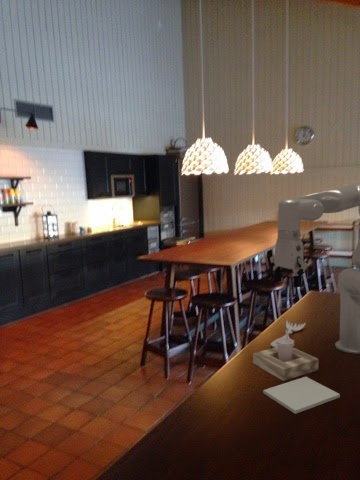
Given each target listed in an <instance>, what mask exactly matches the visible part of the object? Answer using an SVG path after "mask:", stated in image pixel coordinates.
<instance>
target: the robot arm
mask: <svg viewBox="0 0 360 480" xmlns="http://www.w3.org/2000/svg"><path fill="white" fill-rule="evenodd" d="M356 207H357V208H358V215H359V216H360V182H357V183H353V184H352V183H351V184H349V185H345V186H340V187H338V188H335V189H329V190H325V191H319V192H316V193H310V194H305V195H301V196H297V197H293V198H291V199H282V200H279V202H278V206H277V208H278V209H277V210H278V211H277V215H278V216H277V238H276V242H275V247H274V255H272V256H271V257H270V258H269V260H270V265H271V267H272V271H273V282H274V283H280V282H282V281H283V280H282V278H283V275H282V274H283V270H282V269H286V270H287V269H288V270H292V272H293V274H294V275H293V279H292V282H293V283H292V286H293V288H301V287H302V279H303V278H302V276H303V275H304V274H305V272H306V271H307V269H308V265H309V264H308V263H307V262H306V261H305V260H304V247H303V242H302V239H301V237H302V234H301V222H302V221H309V222H312V221H313V222H314V221H317V220H319V219H321V217H323V214H333V213H335V214H336V213H340V212H343V211H347V210H351V209H354V208H356ZM351 257H352V263H353V265H355V266H357V267H359V268H360V238H359V239H358V242H357V243H356V247H355V249H354V251H353V254H352V256H351ZM359 268H354V267H353V268H352V267H350V268H344V269H343V270H342V271H340V272H339V274H338V276H337V277H338V279H337V283H338V284H337V285H338V291H339V295H340V296H339V298H340V309H339V311H340V313H339V340H338V341H336V342H335V348H336V349H338V350H339V351H341V352H344V353H347V354H353V355H354V354H355V355H358V354H359V355H360V269H359Z"/></svg>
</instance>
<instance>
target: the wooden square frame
mask: <svg viewBox="0 0 360 480" xmlns="http://www.w3.org/2000/svg"><path fill="white" fill-rule="evenodd" d="M252 364H253V365H254V366H257V368H259V369H261V370H263V371H265V372H266V373H268V374H270V375H272V376H273V377H275V378H278V379H279V380H281V381H287V380H290V379H294V378H298V377H301V376H303V375H306V374H307V375H308V374H310V373H313V372H316V371H318V370H319V358H317V357H316V356H313V355H311V354H309V353H306V352H304V351H301V350H300V349H298V348H295V347H293V352H292V359H291V361H288V362H282V361H280V360H279V357H278V349H277V347H275V348H274V347H272V348H268V349H263V350H260V351H257V352H253V354H252Z"/></svg>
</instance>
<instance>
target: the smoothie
mask: <svg viewBox="0 0 360 480" xmlns="http://www.w3.org/2000/svg"><path fill="white" fill-rule="evenodd" d="M285 331H286V333H285V335H286V338H281V337H278V338H276V339H275V340H276V344H277V349H278V357H279V360H280V361H282V362H288V361H291V359H292V352H293V348H294V346H295V340H294V339H292V338H291V337H290V338H288V329H287V328H285ZM293 345H294V346H293Z"/></svg>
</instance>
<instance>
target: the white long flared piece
mask: <svg viewBox="0 0 360 480" xmlns="http://www.w3.org/2000/svg"><path fill="white" fill-rule="evenodd" d="M293 324H294V325H293ZM306 324H307V323H306V322H304V323H301V324H300V323H299V324H298V325H297V322H296V323H293V322H292V323H291V321H289V320H288V319H287V320H286V323H285V329H288V338H290V339H291V337H290V335H291V334H293V333H295V332H299V331H301V330H302V329H303V328H305V326H306ZM284 333H285V334H284V335H283V336H281V337H280V338H286V330H285V332H284ZM276 340H277V339H275V340H273V341H272V342H270V346H272V348H275V347H277V344H276ZM294 346H295V344H294V345H293V347H294Z"/></svg>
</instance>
